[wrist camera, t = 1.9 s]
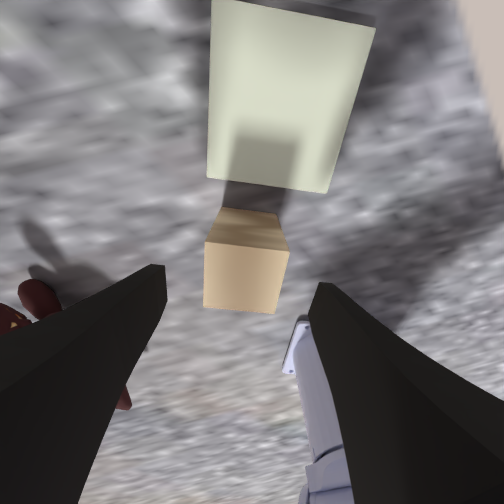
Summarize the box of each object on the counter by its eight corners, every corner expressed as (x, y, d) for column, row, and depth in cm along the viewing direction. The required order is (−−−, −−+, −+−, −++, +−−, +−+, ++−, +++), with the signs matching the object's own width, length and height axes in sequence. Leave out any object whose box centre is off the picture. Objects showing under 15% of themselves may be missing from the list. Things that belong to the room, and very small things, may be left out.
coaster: (370, 34, 10) (376, 28, 10) (323, 191, 14) (326, 193, 14) (213, 3, 10) (211, -5, 9) (208, 175, 14) (206, 176, 13)
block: (276, 213, 15) (289, 251, 10) (266, 260, 17) (274, 313, 11) (221, 206, 15) (204, 241, 9) (218, 254, 16) (203, 307, 11)
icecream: (154, 428, 17) (4, 289, 12) (72, 473, 17) (-121, 350, 11) (169, 362, 23) (77, 253, 18) (111, 393, 23) (-1, 292, 18)
